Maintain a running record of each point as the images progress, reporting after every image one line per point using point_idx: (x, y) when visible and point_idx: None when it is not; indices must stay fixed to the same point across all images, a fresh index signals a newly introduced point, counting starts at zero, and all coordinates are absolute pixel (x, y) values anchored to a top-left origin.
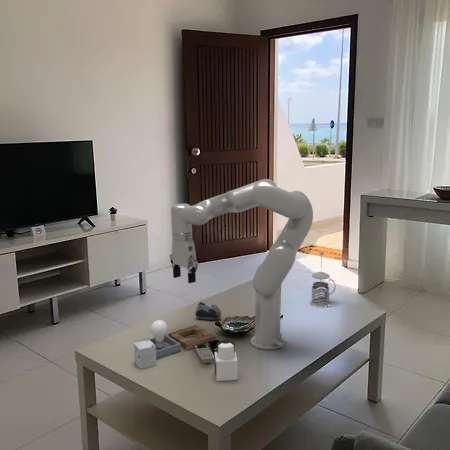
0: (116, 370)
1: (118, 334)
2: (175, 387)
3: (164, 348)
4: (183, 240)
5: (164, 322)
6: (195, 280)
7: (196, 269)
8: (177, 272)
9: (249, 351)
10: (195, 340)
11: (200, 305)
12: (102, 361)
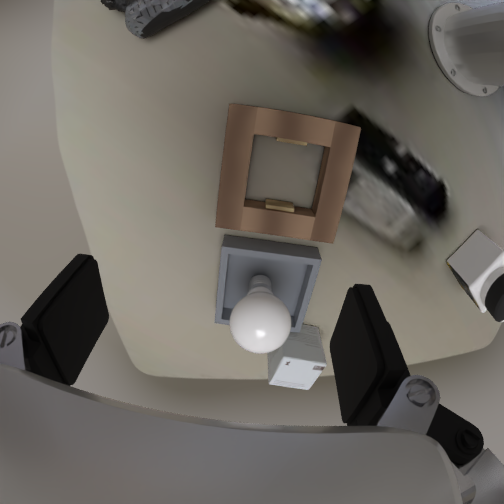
0: None
1: None
2: (406, 344)
3: (303, 306)
4: None
5: (277, 330)
6: (371, 292)
7: (462, 424)
8: (82, 322)
9: (464, 123)
10: (335, 203)
11: (136, 9)
12: (213, 375)
